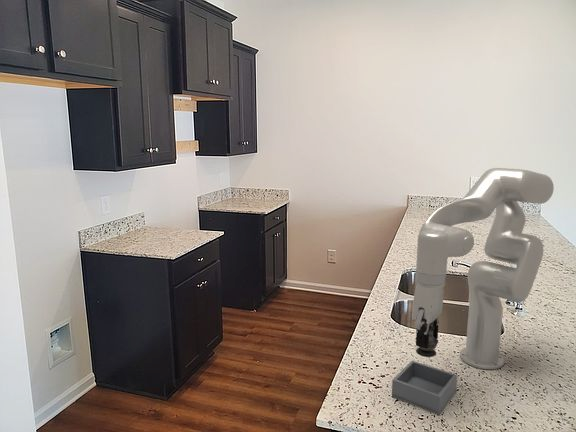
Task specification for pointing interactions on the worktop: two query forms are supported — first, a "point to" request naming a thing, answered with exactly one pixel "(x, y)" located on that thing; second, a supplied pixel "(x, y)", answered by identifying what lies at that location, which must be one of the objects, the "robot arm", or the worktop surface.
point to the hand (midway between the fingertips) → (426, 341)
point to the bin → (424, 386)
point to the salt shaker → (432, 343)
